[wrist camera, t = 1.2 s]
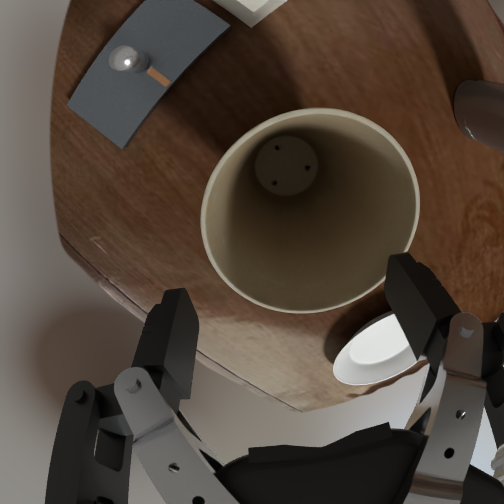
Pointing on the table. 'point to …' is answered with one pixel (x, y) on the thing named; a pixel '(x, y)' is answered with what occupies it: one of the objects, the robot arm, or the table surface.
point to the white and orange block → (250, 9)
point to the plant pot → (309, 210)
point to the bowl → (374, 353)
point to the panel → (144, 65)
